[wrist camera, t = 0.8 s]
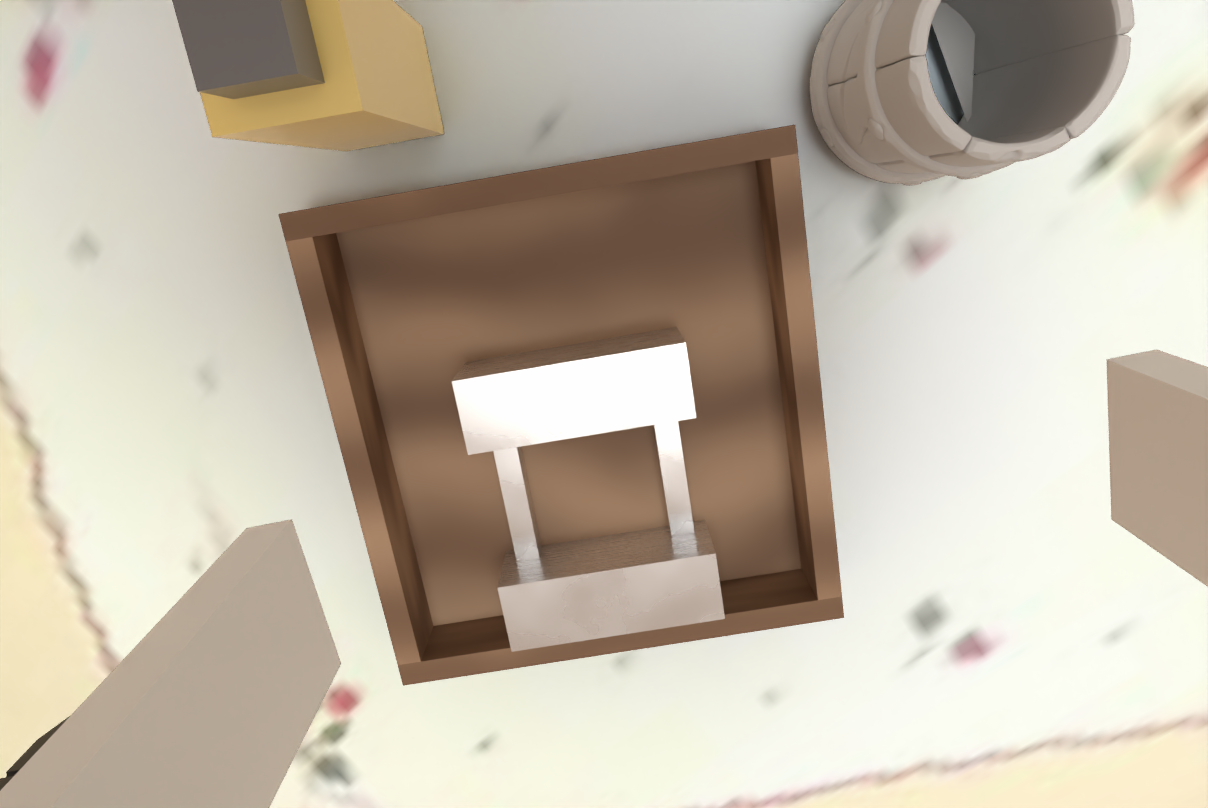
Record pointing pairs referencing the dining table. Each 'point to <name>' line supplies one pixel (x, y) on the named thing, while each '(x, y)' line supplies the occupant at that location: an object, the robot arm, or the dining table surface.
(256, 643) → the robot arm
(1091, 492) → the dining table surface
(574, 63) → the dining table surface
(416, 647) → the box
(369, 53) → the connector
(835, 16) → the mug
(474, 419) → the inlet
